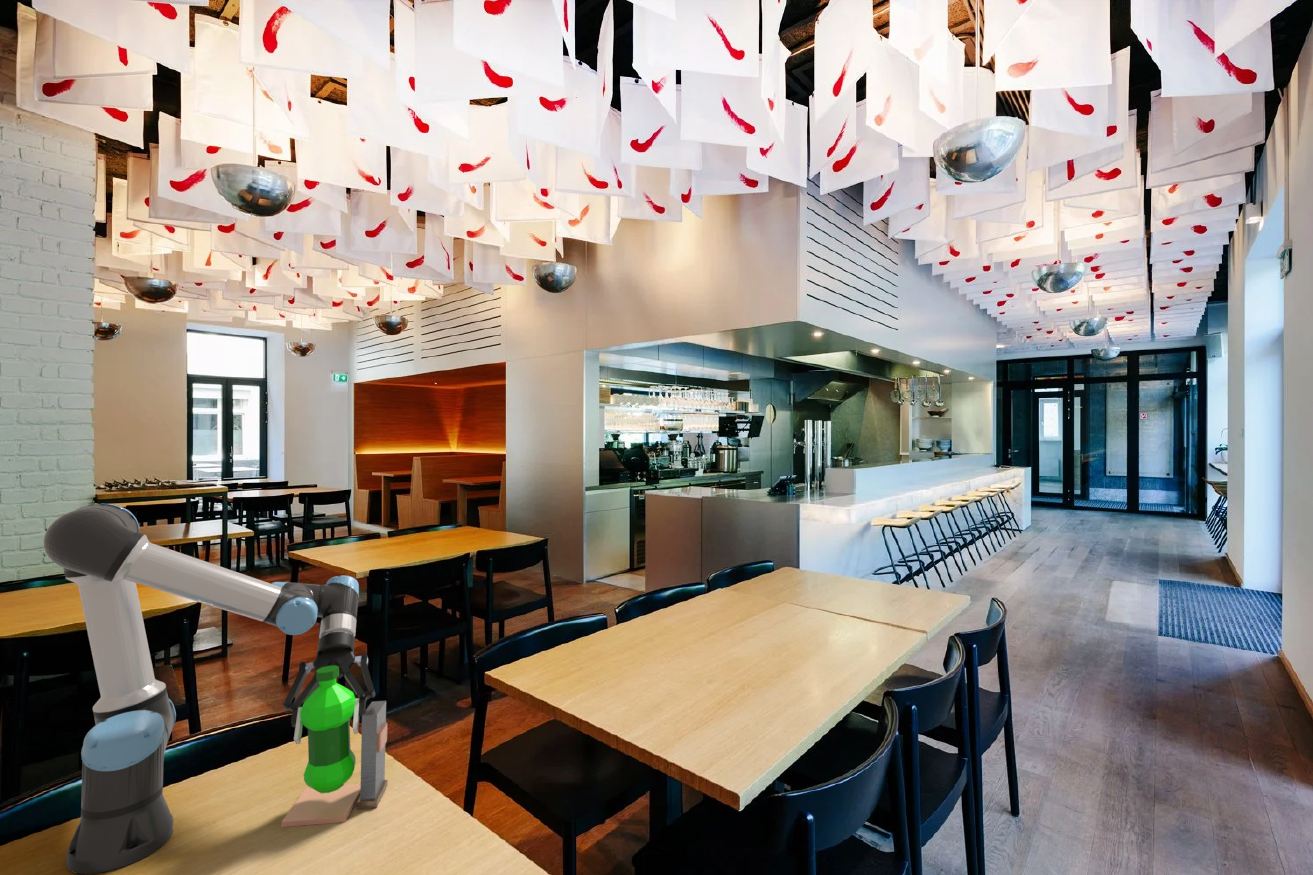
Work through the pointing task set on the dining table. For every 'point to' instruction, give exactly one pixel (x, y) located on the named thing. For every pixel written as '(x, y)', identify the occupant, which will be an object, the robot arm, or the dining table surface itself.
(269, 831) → the dining table surface
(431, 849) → the dining table surface
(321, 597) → the robot arm
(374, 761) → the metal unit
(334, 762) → the plastic bottle
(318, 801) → the terracotta pad
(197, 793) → the dining table surface
